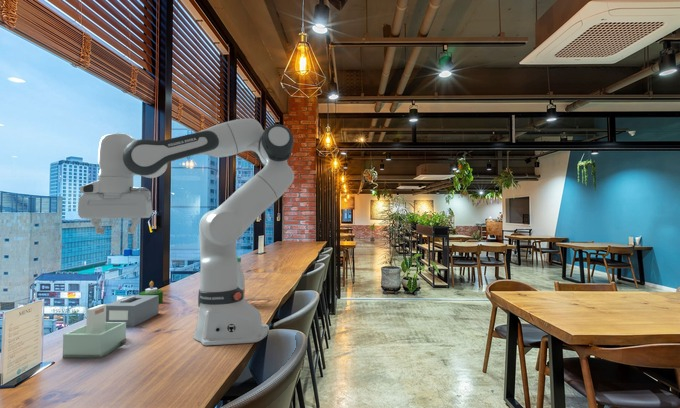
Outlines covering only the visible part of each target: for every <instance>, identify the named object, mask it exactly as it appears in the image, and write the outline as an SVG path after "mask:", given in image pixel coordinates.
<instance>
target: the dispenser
mask: <svg viewBox="0 0 680 408" xmlns="http://www.w3.org/2000/svg"><path fill="white" fill-rule="evenodd" d="M159 305H160V304H159V295H140V294H137V295H136V294H130V295H128V296H125V297H124V298H121V299H118V300H114V301H112V302H110V303H106V322H126V328H127V327H136V326H138V325H139V324H141V323H143V322H145V321H147V320H149V319H151V318H153V317H155V316H157V315H159V309H160V307H159Z"/></svg>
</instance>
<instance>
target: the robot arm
mask: <svg viewBox="0 0 680 408" xmlns="http://www.w3.org/2000/svg"><path fill="white" fill-rule="evenodd" d="M293 147H294V136H293V133H292V131H291V130H290V128H289V127H287V126H286V125H283V124H279V123H275V124H271V125H269V126H267V128H266V129H265V130H264V129H263V126H262V124H261V123H260V122H259V121H258V120H257V119H255V118H250V117H248V118H240V119H239V118H238V119H232V120H229V121H225V122H220V123H218V124H215V125H213V126H209V127H207V128H205V129H202V130H199V131H197V132H193V133H189V134H185V135H181V136H176V137H173V138H167V139H163V140H154V139H153V140H152V139H136V138H134V137H133V136H131V134H129V133H128V134H127V133H124V132H123V133H121V132H115V133H109V134H105V135H104V136H102V137H101V139H100V141H99V146H98V154H97V155H98V156H97V163H98V166H99V172H98V174H97V180H95V181H92V182H89V183H87V184H83V185H81V186H80V187H79V193H80V194H81V195H80V196H79V198H78V202H77V203H78V206H77V213H78V216H79V218H81V219H85V220H86V219H89V220H90V219H91V224H92V225H93V227H94V229H95V234H96V235H104V234H105V232H106V231H105V227H102V225H101V222H102V219H130V221H131V223H132V224H131V225H130V226H129V227H127V229H126V230H127V234H132V235H134V234H136V233H137V228H138V226H139V223H141V219H149V218H151V217H152V216H153V206H152V201H151V199H152V192H151V190H149V189H148V188H147V187H144V186H143V187H137V186H136V187H135V186H134V176H141V177H144V178H149V179H154V178H158V177H160V176H162V175H163V174H165V172H166V170H167V169H168V164H169V163H171V162H175V161H178V160H181V159H185V158H189V157H192V156H198V155H204V156H210V157H213V158H217V159H218V158H225V157H226V158H227V157H231V156H234V155H238V154H240V153H244V152H248V151H251V152H252V154H253V156H254V157H255V158H256V160H257V161H259V163H260V164H261V166H263V168H262V169H260V170H259V171H258V172H257V173H256V174H254V175H253V176H252V177H251V178H250V179H248V180H247V181H246V182H245V183H244V184H242V185H241V186H240V187H238V189H236V190H235V191H234V192H232V194H231V195H230V196H229V197H227V199H226V200H225V201H223V202H222V203H221V204H220V205H219V206H218V207H216V208H215V209H212V210H209V211H207V212H206V213H205V214H203V215H202V217H201V218H200V221H199V224H198V229H199V230H198V231H199V232H198V235H199V236H198V237H199V259H200V260H199V261H200V262H199V263H200V277H199V279H200V281H199V282H200V284H199V289H198V294H197V295H198V296H197V304H198V305H197V306H198V314H197V315H198V316H197V323H196V327H195V330H194V332H193V333H194V334H193V338H194V340H196V341H198V342H200V343H201V344H202V345H203V346H218V345H219V346H220V345H234V344H251V343H258V342H260V341H262V340H263V339H265V338H266V337H267V335H269V332H270V327H269V325H268V324H265V323H263V320H262V315H261V312H260V310H259V309H257V308H256V307H255V306H254V305H252V304H251V303H249V302H248V301H247V300H246V299H243V297H244V291H245V289H246V288H245V289H243V290H241V289H240V288H239V287H238V261H237V257H238V255H237V250H236V242H237V240H239V238H241V236H242V235H243V234H244V233H245V232H246V231H247V230H248V229H249V228H250V227H251V226H252V225H253V223H255V221H256V220H257V218H259V217H260V216H261V215H262V214H263V213H265V211H266V210H267V209H269V208H270V207H271V206H272V205H273V204H274V203H275V202H277V201H278V199H279V198H281V197H282V196H283V195H284V193H286V192H287V190H288V189H289V188H290V186H292V184H293V183H294V180H295V174H294V171H293V168H292V167H291V166H290V165H289V164H288V160H289V159H290V158H291V157H290V156H291V154H292V151H293V149H294V148H293ZM245 292H246V291H245Z"/></svg>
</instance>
